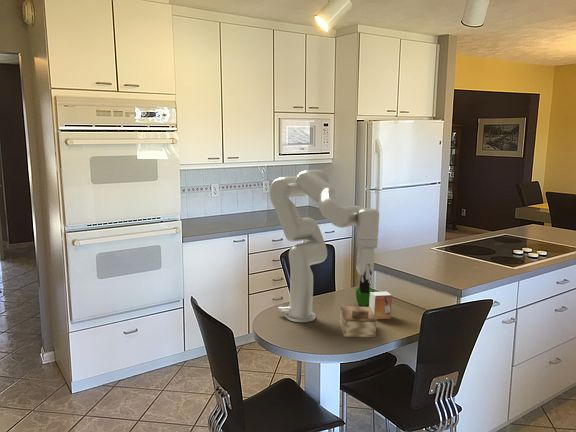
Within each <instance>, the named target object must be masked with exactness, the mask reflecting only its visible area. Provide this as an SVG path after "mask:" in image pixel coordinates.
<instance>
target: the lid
mask: <svg viewBox="0 0 576 432" xmlns="http://www.w3.org/2000/svg"><path fill="white" fill-rule="evenodd" d="M340 311H342V314H343V317H344V320H345V321H376V322H377V320H378V319H376V317H375V316H374V314H373V312H372V310H371V308H370V307H369V306H368V307H364V306H349V305H348V306H346V305H345V306H343V305H341V306H340Z"/></svg>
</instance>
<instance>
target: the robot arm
mask: <svg viewBox="0 0 576 432" xmlns="http://www.w3.org/2000/svg"><path fill="white" fill-rule="evenodd" d="M335 193H336V191H335V187H333V186H332V185H331V184H330V177H329V175H328V173H327V172H325V171H324V170H322V169H305V170H302V171H301V172H298V174H297V175H295V176H282V177H278V178H276V179H274V180H273V181H272V182H271V184H270V188H269V198H270V201H271V203H272V206H273V207H274V210H275V212H276V213H277V216H278V221H279V223H280V226H281V229H282V231H283V234H284V236H285V238H286V240H287V241H289V242H291V243H293V242H300V243H297V244H295V245H293V246H292V247H291V248H290V249H289V251H288V263H289V270H290V280H289V281H290V282H289V283H290V284H289V287H290V288H289V304H288V306H278V312H281V314H285V319H287V320H288V321H291V322H295V323H309V322H312V321H314V320H316V317H317V316H316V314H315V312H313V297H314V295H313V294H314V273H313V271H312V268H311V266H312V265H317V264H321V263H323V262H325V260H326V259H327V257H328V248H327V245H326V242H325V239H324V237H323V235H322V232H321V229H320V226H319V224H318V223H317V221H316V220H315V219H313V218H311V217H301V215H300V213H299V210H298V208H297V206H296V205H295V204H294V202H293V201H292V200H291V199H290V198H293V197H305V196H308V197H310V198H311V199H312V200H313V201H314V202H316V203H317V204H318V209H319V212H320V214H321V215H322V217H323V218H325V220H327V221H328V222H329V223H331V225H332V226H335V227H338V228H341V229H342V228H348V227H349V228H350V227H356V229H357V230H356V243H355V244H356V245H355V246H356V248H357V254H356V263H355V265H356V267H355V268H356V269H355V270H356V271H357V273H358V275H359V276H360V277H359V279H360V280H359V285H358V288H359V290H360V292H361V293H369V287H370V288H371V286H370V285H371V283H370V281H371V276H373V275H374V268H375V249H377V248H378V243H379V241H378V239H379V224H380V223H379V222H380V212H379V210H377V209H376V208H369V207H367V208H366V207H363V206H362V205H348V206H347V205H346V206H340V205H339V204H337V203H336V202H335V201H334V198H335ZM302 241H304V242H302Z"/></svg>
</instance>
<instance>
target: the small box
mask: <svg viewBox="0 0 576 432" xmlns="http://www.w3.org/2000/svg"><path fill="white" fill-rule="evenodd" d="M392 301H393V294H391V293H390V292H388V291H375V292H370V300H369V306H368V307H370V308H371V310H372V312H373V314H374V316H375V317H376V319H377V320H390V319H392V318H391V316H392V315H391V314H392V306H393V305H392V303H393V302H392Z"/></svg>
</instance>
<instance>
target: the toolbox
mask: <svg viewBox="0 0 576 432" xmlns="http://www.w3.org/2000/svg"><path fill="white" fill-rule="evenodd" d="M339 312H340V314H339V316H340V317H339V324H340V328H341V330H342V331H341V332H342V334H343V337H347V338H348V337H352V338H354V337H356V338H376V336H377V334H376V332H377V320H376V321H345V320H344V317H343V314H342V311H341V310H340V311H339Z"/></svg>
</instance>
